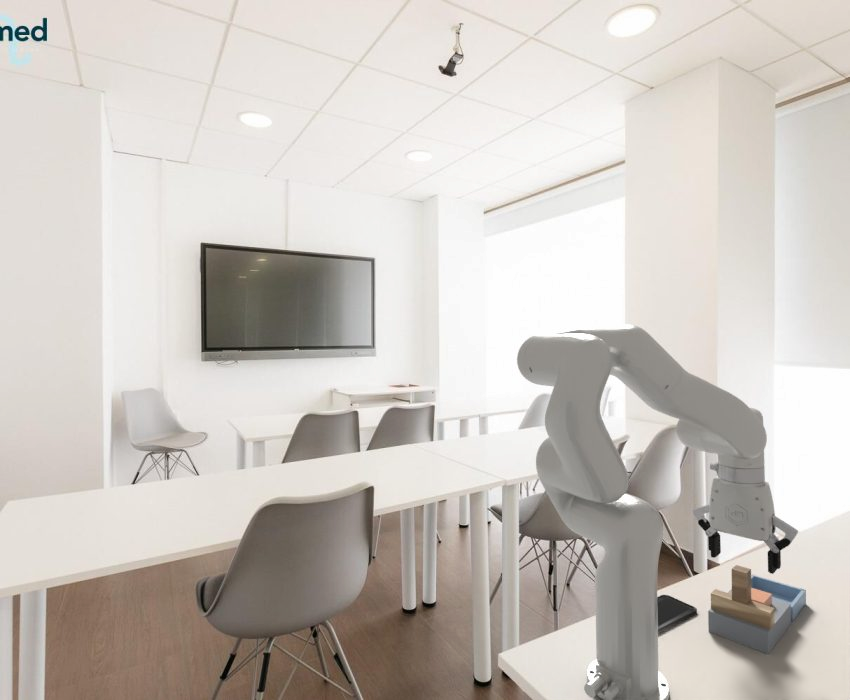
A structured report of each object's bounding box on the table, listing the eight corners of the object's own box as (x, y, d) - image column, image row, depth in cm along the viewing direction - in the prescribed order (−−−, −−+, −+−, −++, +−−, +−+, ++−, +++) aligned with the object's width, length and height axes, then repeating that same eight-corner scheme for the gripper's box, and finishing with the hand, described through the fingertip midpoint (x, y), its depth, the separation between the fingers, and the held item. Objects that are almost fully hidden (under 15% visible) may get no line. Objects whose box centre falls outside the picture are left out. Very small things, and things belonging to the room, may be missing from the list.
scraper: (770, 629, 93) (769, 580, 93) (710, 608, 101) (710, 562, 100) (774, 624, 95) (774, 575, 94) (715, 603, 102) (715, 558, 102)
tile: (763, 613, 98) (763, 602, 98) (734, 603, 102) (734, 593, 102) (771, 603, 102) (771, 593, 102) (743, 594, 105) (743, 585, 105)
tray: (792, 622, 102) (792, 607, 102) (736, 603, 110) (736, 589, 110) (805, 604, 109) (805, 590, 109) (752, 587, 116) (751, 574, 116)
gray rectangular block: (768, 654, 92) (768, 632, 92) (708, 631, 100) (708, 610, 100) (790, 624, 101) (790, 604, 101) (734, 605, 109) (734, 586, 109)
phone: (699, 609, 107) (654, 632, 99) (699, 614, 107) (654, 638, 99) (664, 593, 113) (619, 613, 105) (664, 598, 113) (619, 619, 105)
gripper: (684, 469, 101) (687, 555, 102) (789, 487, 88) (792, 585, 89) (700, 462, 106) (702, 544, 107) (801, 477, 93) (804, 570, 94)
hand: (743, 562), depth 98 cm, fingers open, 9 cm apart
